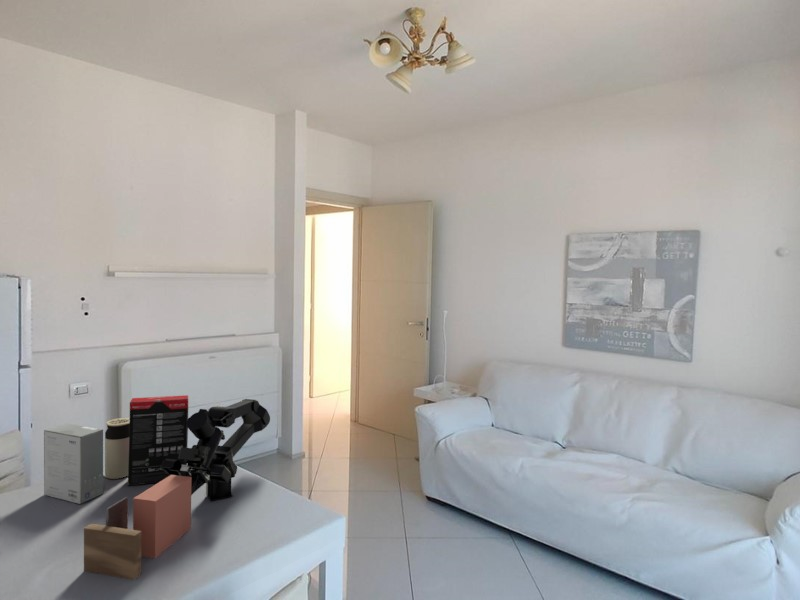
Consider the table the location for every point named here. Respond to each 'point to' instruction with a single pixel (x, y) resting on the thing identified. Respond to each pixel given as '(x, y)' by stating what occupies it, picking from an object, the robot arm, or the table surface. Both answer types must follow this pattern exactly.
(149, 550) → the book box
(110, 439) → the travel mug
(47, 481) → the hard drive box
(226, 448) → the robot arm
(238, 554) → the table surface
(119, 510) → the bookend
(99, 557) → the shelf wall
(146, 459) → the graphics card box
